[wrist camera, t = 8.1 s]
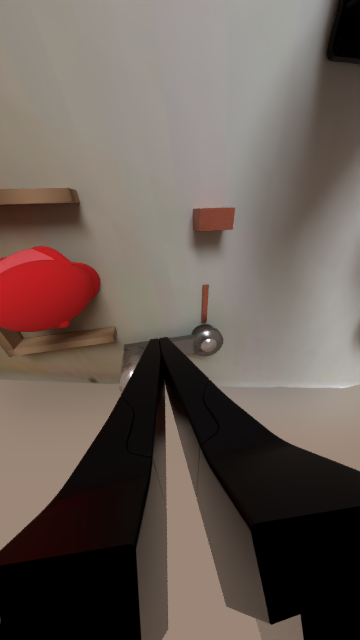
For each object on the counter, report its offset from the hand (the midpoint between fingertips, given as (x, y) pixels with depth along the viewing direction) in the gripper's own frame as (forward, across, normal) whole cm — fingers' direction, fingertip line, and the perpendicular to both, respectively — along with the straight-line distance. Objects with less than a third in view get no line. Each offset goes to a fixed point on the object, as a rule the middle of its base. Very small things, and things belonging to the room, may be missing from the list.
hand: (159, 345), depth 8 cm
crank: (+10, -2, +9) cm, 14 cm away
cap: (+12, +8, 0) cm, 14 cm away
